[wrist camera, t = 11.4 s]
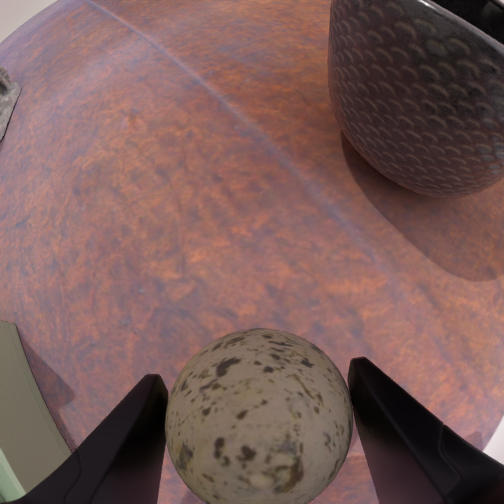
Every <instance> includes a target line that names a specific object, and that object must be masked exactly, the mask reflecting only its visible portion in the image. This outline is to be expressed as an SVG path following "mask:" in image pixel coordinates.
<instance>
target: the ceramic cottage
mask: <svg viewBox="0 0 504 504" xmlns="http://www.w3.org/2000/svg"><path fill="white" fill-rule="evenodd" d="M9 80H10V77H9V75H8V74H7V71H6V70H5V69H4V68H3V67H2V66H1V65H0V140H1V139H2V137H3V136H4V133H5V130H6V127H7V122H8V121H9V118H10V116H11V112H12V111H13V108H14V107H13V106H14V105H15V103H16V101H17V99H18V97H19V94H20V92H21V87H20V85H18V84H17V83H11V81H9Z"/></svg>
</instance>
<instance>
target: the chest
mask: <svg viewBox="0 0 504 504" xmlns="http://www.w3.org/2000/svg"><path fill="white" fill-rule="evenodd" d="M71 454H72V452H71V451H70V449H69V447H68V446H67V444H66V442H65V441H64V439H63V437H62V435H61V433H60V432H59V430H58V428H57V426H56V424H55V422H54V420H53V418H52V416H51V414H50V412H49V410H48V408H47V406H46V404H45V402H44V400H43V398H42V395H41V393H40V391H39V389H38V386H37V384H36V382H35V379H34V377H33V374H32V372H31V369H30V367H29V364H28V362H27V359H26V356H25V353H24V351H23V348H22V345H21V342H20V339H19V336H18V332H17V329H16V326H15V324H14V323H10V322H6V321H2V320H0V503H1V502H9V501H13V500H16V499H19V498H21V497H22V496H24V495H25V494H27V493H28V492H29V491H30V490H32V489H33V488H34V487H35V486H37V485H38V484H39V483H40V482H41V481H43V480H44V479H45V478H46V477H48V476H49V475H50V474H51V473H52V472H53V471H54V470H56V469H57V468H58V467H59V466H60V465H61V464H62V463H63V462H64V461H65V460H66V459H67V458H68V457H69V456H70V455H71Z"/></svg>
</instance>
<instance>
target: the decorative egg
mask: <svg viewBox="0 0 504 504" xmlns="http://www.w3.org/2000/svg"><path fill="white" fill-rule="evenodd" d="M352 431H353V410H352V403H351V398H350V394H349V391H348V388H347V385H346V383H345V381H344V379H343V377H342V375H341V373H340V371H339V370H338V368H337V367H336V365H335V364H334V363H333V362H332V360H331V359H330V358H329V357H328V356H327V355H326V354H325V353H324V352H323V351H321V350H320V349H319V348H318V347H316V346H315V345H314V344H312V343H311V342H309V341H307V340H305V339H303V338H301V337H299V336H296V335H294V334H291V333H288V332H285V331H280V330H274V329H249V330H243V331H238V332H235V333H232V334H228V335H226V336H223V337H221V338H219V339H217V340H215V341H213V342H212V343H210V344H208V345H207V346H205V347H204V348H203V349H202V350H200V351H199V352H198V353H197V354H196V355H194V357H193V358H192V359H191V360H190V361H189V362H188V363H187V364H186V366H185V367H184V368H183V370H182V371H181V373H180V374H179V376H178V378H177V380H176V382H175V384H174V386H173V389H172V391H171V394H170V397H169V401H168V405H167V411H166V420H165V434H166V441H167V446H168V450H169V454H170V457H171V459H172V462H173V464H174V466H175V469H176V470H177V472H178V474H179V476H180V477H181V479H182V480H183V482H184V483H185V484H186V485H187V486H188V488H189V489H190V490H191V491H192V492H193V493H194V494H195V495H197V496H198V497H199V498H200V499H201V500H202V501H204V502H205V503H207V504H307V503H309V502H310V501H312V500H313V499H314V498H316V497H317V496H318V495H319V494H320V493H321V492H322V491H323V490H324V489H325V488H326V487H327V486H328V485H329V484H330V483H331V482H332V481H333V480H334V478H335V477H336V475H337V473H338V472H339V470H340V468H341V467H342V465H343V463H344V461H345V458H346V456H347V453H348V450H349V447H350V443H351V437H352Z"/></svg>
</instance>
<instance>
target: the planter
mask: <svg viewBox="0 0 504 504" xmlns="http://www.w3.org/2000/svg"><path fill="white" fill-rule="evenodd" d="M328 86H329V92H330V98H331V103H332V108H333V111H334V114H335V117H336V120H337V122H338V124H339V126H340V128H341V129H342V131H343V133H344V135H345V136H346V138H347V139H348V141H349V142H350V143H351V145H352V146H353V148H354V149H355V150H356V151H357V152H358V153H359V154H360V155H361V157H362V158H363V159H364V160H365V161H366V162H368V163H369V164H370V165H371V166H372V167H373V168H374V169H376V170H377V171H378V172H380V173H381V174H382V175H384V176H385V177H387V178H388V179H390V180H391V181H393V182H395V183H397V184H398V185H400V186H402V187H404V188H407V189H409V190H411V191H414V192H416V193H420V194H423V195H426V196H431V197H438V198H461V197H465V196H469V195H472V194H476V193H478V192H481V191H483V190H485V189H487V188H488V187H490V186H492V185H494V184H495V183H497V182H499V181H500V180H502V179H504V3H503V2H501V1H500V0H331V8H330V27H329V45H328Z"/></svg>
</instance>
